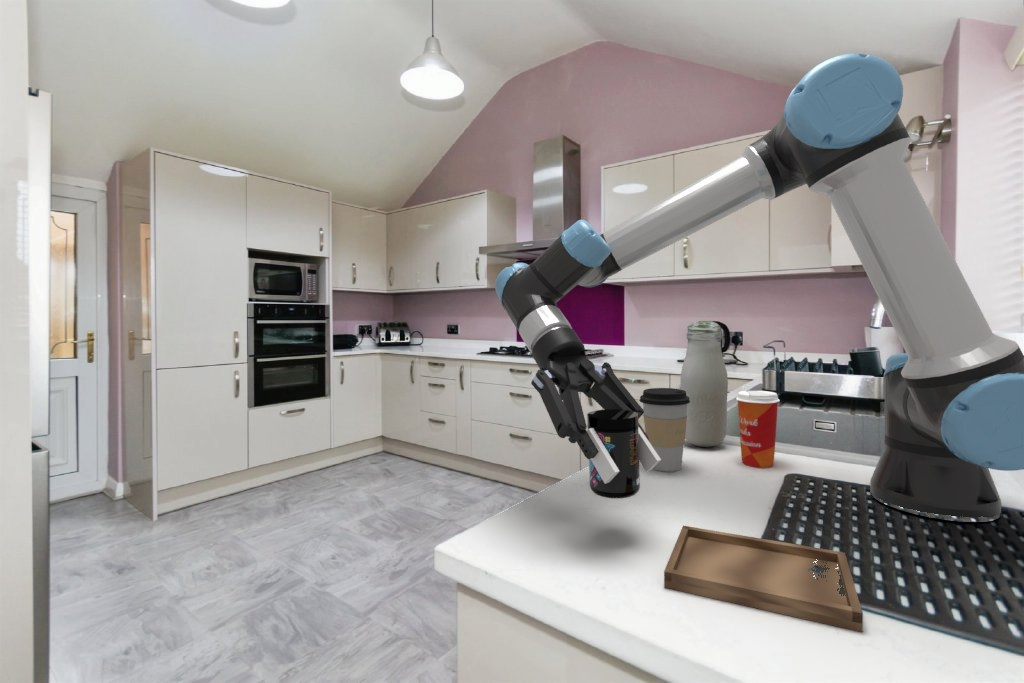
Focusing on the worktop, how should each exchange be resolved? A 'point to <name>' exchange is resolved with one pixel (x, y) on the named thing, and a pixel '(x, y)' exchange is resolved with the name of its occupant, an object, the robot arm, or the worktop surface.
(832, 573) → the tray
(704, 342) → the glass bottle
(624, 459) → the supplement container
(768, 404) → the paper cup
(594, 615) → the worktop surface
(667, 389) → the coffee cup
